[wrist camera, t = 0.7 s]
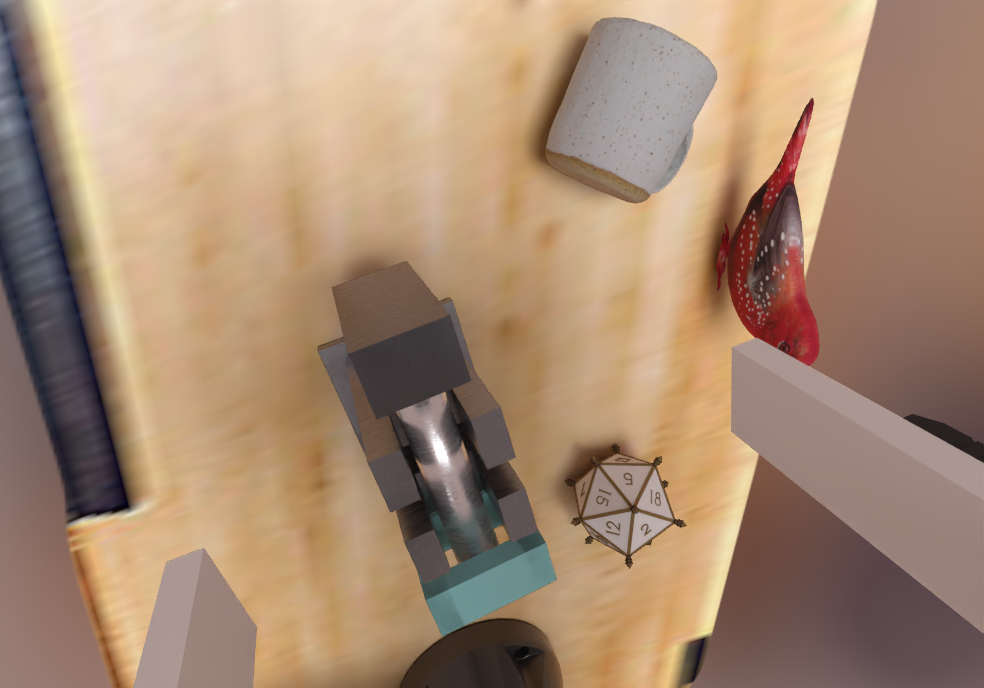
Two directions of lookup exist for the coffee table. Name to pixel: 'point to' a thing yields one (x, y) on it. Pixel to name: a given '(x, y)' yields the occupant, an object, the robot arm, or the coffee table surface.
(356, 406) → the stand
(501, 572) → the frame
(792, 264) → the decorative bird figurine
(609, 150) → the ceramic mug
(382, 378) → the grey piece
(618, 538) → the game die
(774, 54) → the coffee table surface
